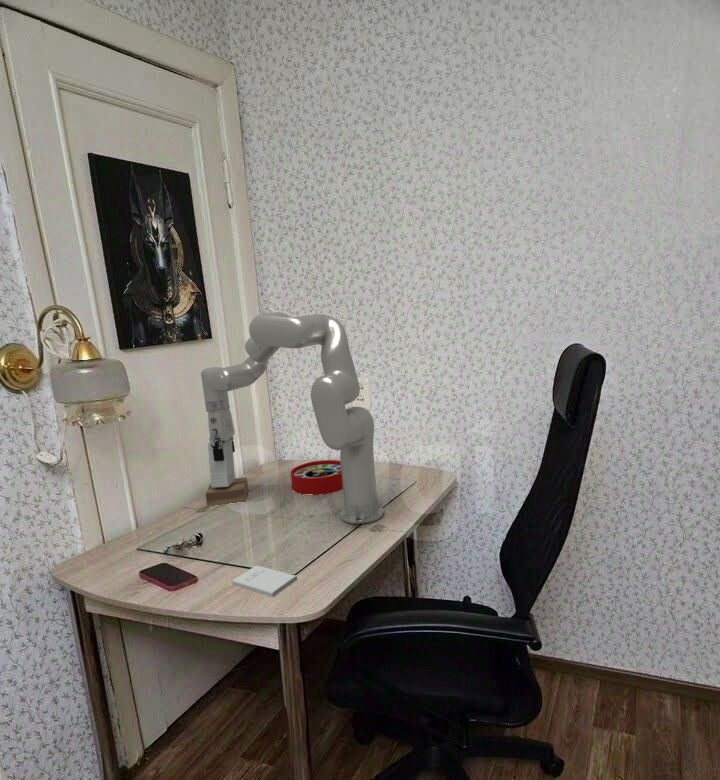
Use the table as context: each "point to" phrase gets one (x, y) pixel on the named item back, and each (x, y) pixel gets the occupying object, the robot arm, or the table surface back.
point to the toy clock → (317, 477)
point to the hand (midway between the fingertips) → (224, 456)
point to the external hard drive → (264, 580)
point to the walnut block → (228, 493)
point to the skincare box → (222, 466)
